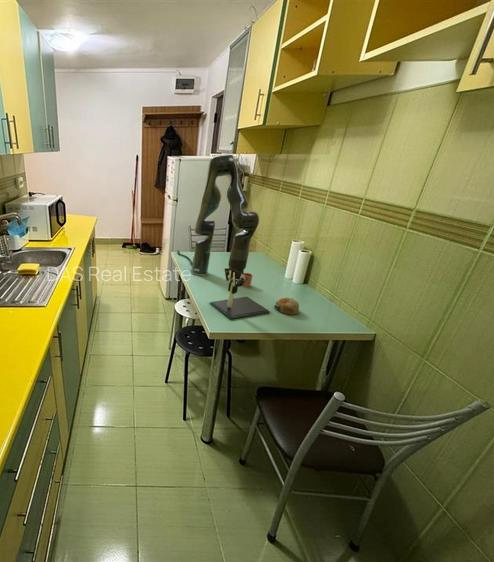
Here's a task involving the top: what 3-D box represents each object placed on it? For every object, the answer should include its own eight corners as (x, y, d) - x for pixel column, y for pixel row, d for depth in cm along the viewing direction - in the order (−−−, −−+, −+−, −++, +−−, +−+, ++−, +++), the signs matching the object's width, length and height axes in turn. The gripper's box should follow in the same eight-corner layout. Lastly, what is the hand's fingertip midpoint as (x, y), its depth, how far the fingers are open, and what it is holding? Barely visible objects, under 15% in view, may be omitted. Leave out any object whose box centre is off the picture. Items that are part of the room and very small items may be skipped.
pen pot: (238, 284, 173) (241, 273, 170) (246, 283, 174) (248, 272, 171) (244, 288, 169) (247, 276, 166) (252, 287, 170) (254, 275, 167)
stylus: (226, 307, 145) (230, 281, 140) (229, 306, 146) (234, 281, 141) (228, 309, 144) (233, 283, 138) (232, 308, 144) (237, 282, 139)
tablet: (210, 303, 151) (210, 301, 150) (246, 298, 157) (246, 296, 157) (230, 319, 137) (230, 317, 136) (269, 313, 143) (269, 310, 143)
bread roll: (291, 322, 142) (303, 311, 138) (271, 309, 145) (283, 297, 140) (292, 313, 150) (303, 302, 146) (273, 301, 153) (284, 290, 148)
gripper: (256, 261, 130) (248, 297, 137) (235, 251, 141) (229, 285, 148) (241, 263, 127) (234, 299, 134) (222, 252, 139) (216, 287, 146)
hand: (232, 291), depth 141 cm, fingers closed on stylus, 2 cm apart
